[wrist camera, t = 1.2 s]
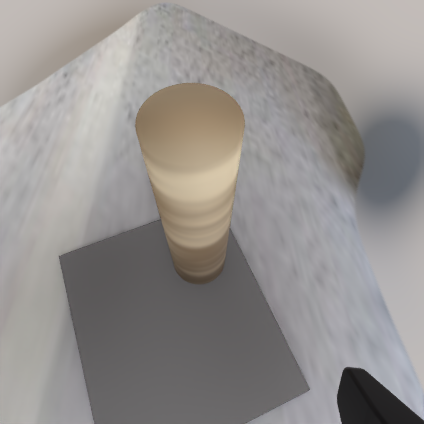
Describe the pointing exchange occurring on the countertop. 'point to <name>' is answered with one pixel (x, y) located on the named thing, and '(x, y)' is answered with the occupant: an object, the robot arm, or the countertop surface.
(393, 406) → the robot arm
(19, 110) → the countertop surface
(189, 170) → the peg
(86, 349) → the mat
